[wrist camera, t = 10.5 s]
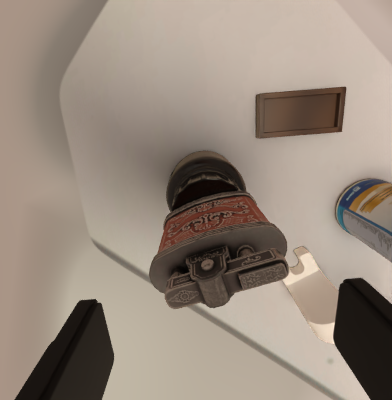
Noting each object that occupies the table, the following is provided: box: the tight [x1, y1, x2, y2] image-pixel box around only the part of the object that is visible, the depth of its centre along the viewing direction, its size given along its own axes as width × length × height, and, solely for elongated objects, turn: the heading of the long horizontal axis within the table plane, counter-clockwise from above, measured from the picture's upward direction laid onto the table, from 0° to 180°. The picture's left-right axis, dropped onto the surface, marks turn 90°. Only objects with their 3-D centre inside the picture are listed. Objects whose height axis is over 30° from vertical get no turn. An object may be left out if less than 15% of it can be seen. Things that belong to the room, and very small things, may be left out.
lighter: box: [149, 191, 289, 309], centre depth 16 cm, size 8×3×10 cm, turn 108°
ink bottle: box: [166, 151, 246, 212], centre depth 26 cm, size 10×9×12 cm
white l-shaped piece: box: [282, 247, 339, 344], centre depth 32 cm, size 5×10×10 cm, turn 32°
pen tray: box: [256, 87, 346, 138], centre depth 29 cm, size 10×5×2 cm, turn 94°
